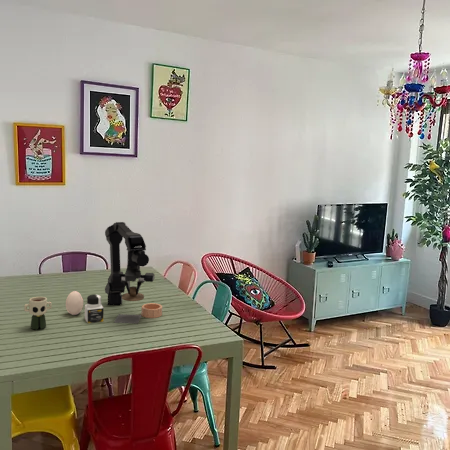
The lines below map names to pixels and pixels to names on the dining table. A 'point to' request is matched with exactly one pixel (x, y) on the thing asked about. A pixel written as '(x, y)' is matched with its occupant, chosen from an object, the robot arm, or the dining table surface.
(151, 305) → the bowl
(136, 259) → the robot arm
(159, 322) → the dining table surface
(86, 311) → the white boxy piece
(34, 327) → the character mug
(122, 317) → the mat
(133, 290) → the lid
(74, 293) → the egg
